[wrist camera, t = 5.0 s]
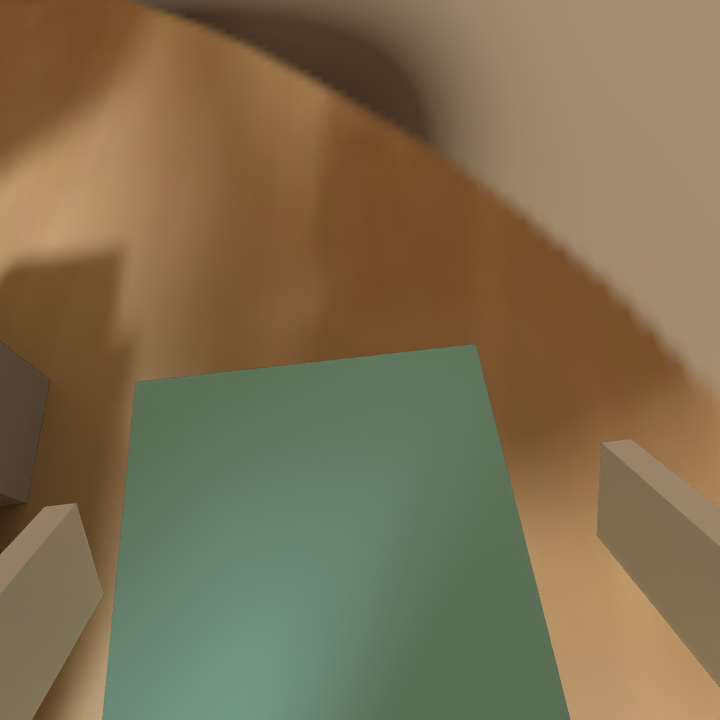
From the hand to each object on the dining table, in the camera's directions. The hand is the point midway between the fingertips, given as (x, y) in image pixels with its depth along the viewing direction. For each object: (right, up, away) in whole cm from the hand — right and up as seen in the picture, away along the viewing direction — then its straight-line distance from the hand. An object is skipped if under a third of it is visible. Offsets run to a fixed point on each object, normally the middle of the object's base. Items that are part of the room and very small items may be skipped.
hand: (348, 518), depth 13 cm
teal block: (0, -4, +4) cm, 6 cm away
